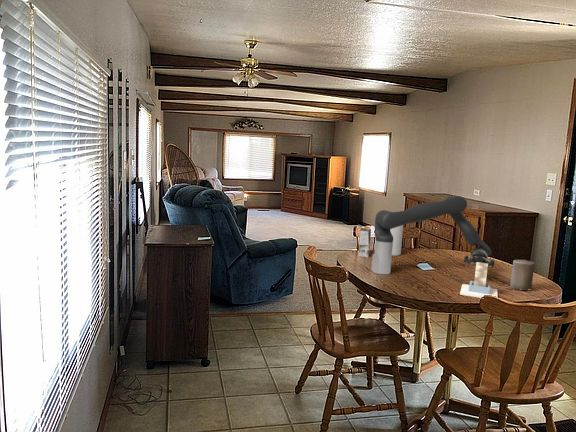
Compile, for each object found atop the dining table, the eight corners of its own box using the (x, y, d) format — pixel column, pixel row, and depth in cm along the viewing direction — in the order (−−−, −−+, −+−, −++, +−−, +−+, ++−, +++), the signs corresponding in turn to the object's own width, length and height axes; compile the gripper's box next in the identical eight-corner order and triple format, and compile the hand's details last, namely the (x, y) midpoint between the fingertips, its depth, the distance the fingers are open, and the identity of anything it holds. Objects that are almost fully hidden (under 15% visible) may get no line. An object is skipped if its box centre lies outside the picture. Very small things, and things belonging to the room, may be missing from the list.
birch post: (473, 290, 226) (476, 264, 224) (473, 288, 231) (476, 262, 229) (484, 292, 224) (487, 265, 222) (484, 290, 229) (487, 263, 227)
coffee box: (368, 257, 291) (370, 231, 289) (358, 256, 292) (360, 230, 290) (369, 254, 300) (371, 229, 298) (358, 253, 301) (360, 228, 299)
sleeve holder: (460, 294, 223) (460, 285, 223) (462, 286, 238) (463, 277, 237) (497, 300, 217) (498, 291, 217) (497, 291, 232) (498, 283, 231)
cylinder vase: (396, 251, 312) (399, 213, 309) (403, 256, 300) (407, 216, 297) (377, 251, 310) (381, 213, 306) (384, 255, 298) (388, 216, 294)
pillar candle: (535, 291, 236) (539, 261, 234) (516, 290, 235) (520, 260, 233) (524, 286, 245) (527, 257, 243) (506, 285, 244) (509, 256, 243)
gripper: (466, 248, 254) (464, 254, 240) (495, 252, 249) (495, 258, 234) (464, 262, 255) (462, 268, 241) (493, 266, 250) (493, 273, 235)
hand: (478, 263), depth 237 cm, fingers open, 8 cm apart
